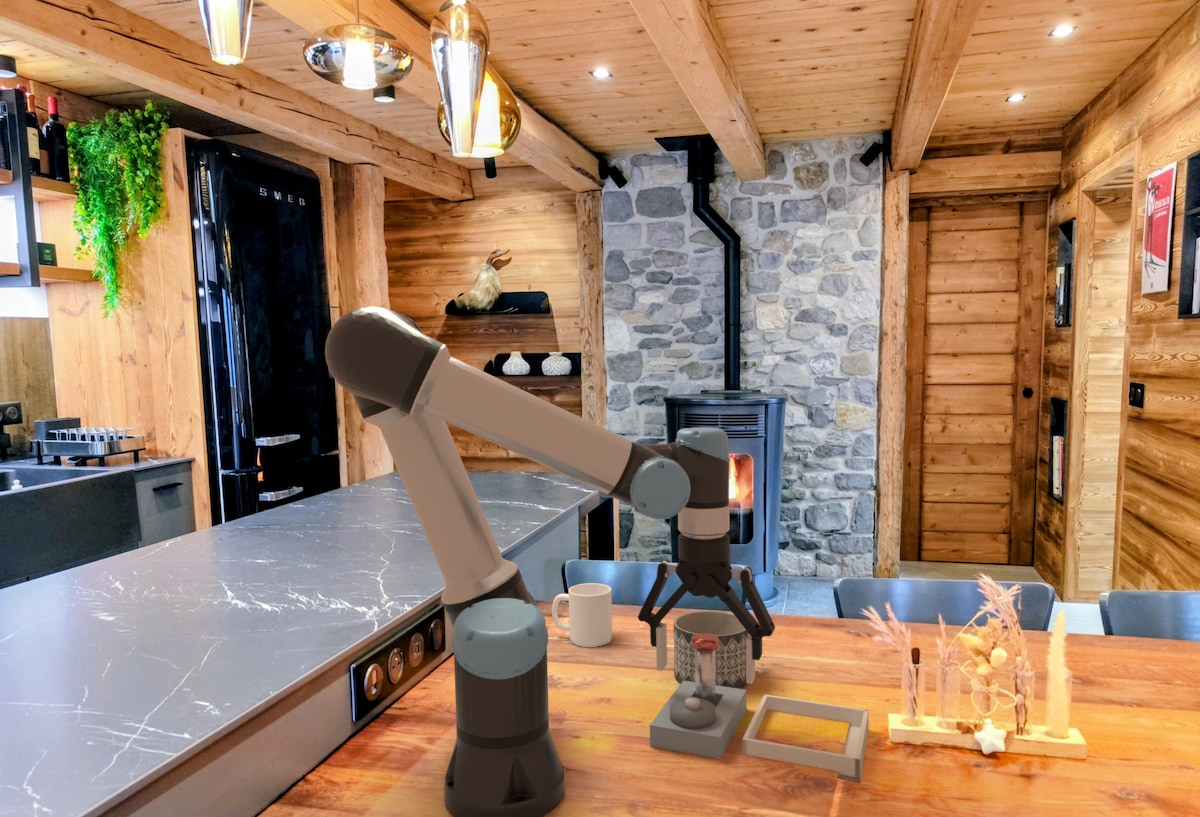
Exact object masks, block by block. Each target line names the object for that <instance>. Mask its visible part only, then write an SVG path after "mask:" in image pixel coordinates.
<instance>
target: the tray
mask: <svg viewBox="0 0 1200 817" xmlns="http://www.w3.org/2000/svg"><path fill="white" fill-rule="evenodd" d="M767 711H774V712H780V713H781V712H782V713H787V714H793V715H800V716H806V717H807V716H808V717H813V718H814V717H815V718H821V719H825V720H826V719H827V720H833V721H840V722H846V723H848V726H847V727H848V728H847V733H846V737H845V742H844V746H843V750H842V753H837V752H832V751H831V752H830V751H824V750H821V749H820V750H819V749H813V748H809V747H808V748H807V747H802V746H797V745H796V746H795V745H790V744H789V745H788V744H783V743H779V742H778V743H777V742H773V741H772V742H771V741H767V740H761V739H755V737H756V735H757V733H758V731H759V729H760V726H761V725H762V722H763V720H764V718H765V715H766V713H767ZM869 712H870V710H869V709H865V708H861V707H860V708H859V707H852V706H847V705H840V704H834V703H833V704H831V703H825V702H821V701H820V702H818V701H811V700H807V699H805V700H804V699H801V698H800V699H798V698H793V697H785V696H779V695H772V694H771V695H770V694H767V693H766V694H763V696H762V698H761V700H760V702H759V704H758V706H757V709H756V710H755V713H754V714H753V715H752V719H751V720H750V723H749V725H748V727H747V729H746V731H745V733H744V735H743V736H742V740H741V742H742V743H741V744H742V745H741V746H742V747H741V748H742V750H741V751H742V752H741V753H742V755H746V756H752V757H756V758H761V759H762V758H763V759H768V760H772V761H773V760H774V761H779V762H783V763H784V762H785V763H789V764H795V765H801V766H802V765H803V766H808V767H812V768H813V767H814V768H819V769H823V770H830V771H834V772H838V773H837V776H836V777H837V779H839V780H845V781H851V782H857V783H861V779H862V778H861V776H862V771H863V765H864V759H865V753H866V746H867V742H868V734H869V728H870V727H869V718H870V717H869V714H870V713H869Z"/></svg>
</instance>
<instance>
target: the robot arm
mask: <svg viewBox="0 0 1200 817" xmlns="http://www.w3.org/2000/svg"><path fill="white" fill-rule="evenodd" d="M324 349H325V350H324V356H325V362H326V364H327V367H328V370H329V372H330V374H331V376H332V378H334V380H335V381H336V382H337V384H338V385H340V386H341V387H342V388H343V389H344V390H346V391H347V392H349V393H351V394H352V396H353V398H354V401H355V404H356V405H357V407H358V410H359V412H360V415H361V416H362V419H363V421H364V422H366V423H369V424H371V425H373V426H375V427H377V428H378V429H380V432H381V434H382V437H383V439H384V441H385V444H386V446H387V449H388V451H389V453H390V455H391V458H392V461H393V462H394V465H395V467H396V470H397V471H398V474H399V477H400V479H401V482H402V484H403V485H404V488H405V490H406V493H407V495H408V497H409V499H410V503H411V504H412V507H413V509H414V512H415V514H416V516H417V519H418V521H419V523H420V525H421V526H420V527H422V530H423V533H424V534H425V535H424V536H425V537H426V540H427V542H428V544H429V546H430V548H431V552H432V553H433V556H434V558H435V560H436V563H437V566H438V568H439V570H440V572H441V574H442V577H443V579H444V582H445V587H444V589H443V592H442V595H441V597H440V600H441V603H442V605H443V608H444V610H445V612H446V615H447V616H448V620H449V622H450V624H451V627H452V628H453V632H452V637H451V647H452V648H451V649H452V652H453V664H454V691H455V694H454V695H455V698H454V699H455V719H456V720H455V723H456V727H455V728H456V739H455V742H454V746H453V750H452V753H451V756H450V759H449V763H448V766H447V769H446V773H445V776H444V781H443V782H444V783H443V792H444V793H443V795H444V804H445V807H446V808H447V810H448V811H449V812H450V814H452V816H454V817H542V816H545V815H546V814H548V813H549V812H551V811H552V810H553V809H555V807H556V806H558V804H559V803H560V802H561V800H562V798H563V797H564V794H565V793H564V792H565V773H564V768H563V764H562V763H561V760H560V757H559V753H558V751H557V748H556V745H555V742H554V739H553V737H552V734H551V731H550V719H549V718H550V716H549V687H548V686H549V680H548V678H549V677H548V676H549V675H548V645H549V631H548V627H547V622H546V618H545V616H544V614H543V612H542V611H541V609H539V607H538V603H537V602H536V600H535V598H534V597H533V595H532V594H531V592H530V591H529V590H528V588H527V585H526V583H525V581H524V578H523V576H522V573H521V572H520V569H519V566H518V565H517V563H516V562H512V561H510V560H508V559H506V558H503V556H502V553H501V551H500V549H499V547H498V544H497V541H496V540H495V537H494V534H493V532H492V530H491V528H490V525H489V522H488V520H487V517H486V515H485V512H484V511H483V509H482V506H481V504H480V501H479V499H478V496H477V494H476V491H475V489H474V486H473V484H472V481H471V479H470V477H469V475H468V472H467V470H466V467H465V465H464V463H463V460H462V458H461V456H460V453H459V451H458V448H457V445H456V443H455V442H454V439H453V436H452V434H451V432H450V430H449V427H448V424H450V425H452V426H455V427H457V428H460V429H462V431H466V432H468V433H471V434H473V435H475V436H477V437H479V438H481V439H484V440H486V441H487V442H491V443H493V444H495V445H497V446H499V447H501V448H504V449H505V450H508V451H509V452H510V451H511V452H513V453H515V454H517V455H519V456H522V457H523V458H526V459H528V460H530V461H532V462H535V463H537V464H539V465H542V466H543V467H545V468H548V469H549V470H551V471H555V472H556V473H560V475H564V476H565V477H568V478H570V479H573V480H575V481H576V482H579V483H581V484H583V485H586V486H588V487H590V488H593V489H595V490H597V492H598V493H599V495H600V497H602V498H610V499H611V498H614V499H616V500H617V501H620V502H622V503H625V504H626V505H629V506H631V507H633V508H635V510H637V511H638V512H639V513H640V514H642V515H644V516H647V517H649V518H650V519H651V518H652V519H656V520H666V519H670V518H672V517H674V516H676V515H677V530H678V531H679V532H680V534H679V535H678V538H677V539H678V542H677V543H678V548H677V549H678V562H677V563H673V562H671V561H670V560H668V559H664V560H663V561H662V562H660V563H659V564H658V566H657V569H656V570H657V572H656V578H655V580H654V582H653V584H652V586H651V588H650V591H649V593H648V594H647V596H646V599H645V600H644V603H643V605H642V607H641V609H640V611H639V613H638V616H637V619H638V621H640V622H645V623H647V624H648V625H649V628H650V632H649V633H650V635H649V637H650V644H651V647H655V648H656V671H658V672H662V671H663V670H664V669H665V668H666V667H667V666H668V641H667V639H668V638H667V637H668V635H667V632H668V631H667V622H662V620H663V619H664V618H665V617H666V616H667V615H668V614H669V612H671V611H672V609H673V608H674V607H675V606H676V605H677V604H678V602H679V601H681V599H682V598H683V597H684V596H685V595H686V594H687V593H688V592H689V594H691V595H692V596H693V597H700V596H701V597H702V596H703V597H706V598H710V599H711V598H712V599H714V597H718V598H719V600H720V601H721V602H722V603H724V604H725V605H726V606H727V608H728V609H729V610H730V611H731V613H733V614H734V615H735V616H736V618H737V619H738V620H739V622H740V623H741V624H742V625H743V627H744V628H745V629H746V630H747V632H748V633H749V635H748V637H747V638H746V683H748V684H747V685H752V684H753V682H754V681H755V679H756V661H760V659H761V658H762V655H763V638H764V637H771V636H772V635H773V632H775V629H776V625H775V623H774V621H773V619H772V617H771V614H770V613H769V611H768V609H767V607H766V605H765V602H764V601H763V598H762V596H761V594H760V592H759V590H758V589H757V587H756V583H754V575H753V569H752V568H751V567H750V566H745V567H744V568H732V566H731V548H730V546H731V545H730V544H731V540H730V538H731V537H730V535H729V534H728V533H727V532H729V531H730V529H731V528H730V526H731V525H730V498H729V497H730V495H729V494H730V461H731V459H730V452H729V438H728V434H727V433H726V431H725V430H723V429H721V428H717V427H703V426H702V427H689V428H688V427H686V428H681V429H679V430H678V431H677V433H676V438H675V442H670V443H651V444H650V443H648V444H640V443H639V444H638V443H635V442H633V441H631V440H630V439H627V438H626V437H623V436H622V435H619V434H617V433H615V432H613V431H610V430H609V429H606V428H604V427H603V426H601V425H598V424H596V423H594V422H592V421H589V420H587V419H586V418H583V417H580V416H579V415H577V414H574V413H573V412H570V411H568V410H567V409H564V408H561V407H560V406H558V405H556V404H553V403H552V402H549V401H547V400H545V399H542V398H540V397H538V396H536V395H534V394H532V393H531V392H527V390H526V391H525V390H524V389H521V388H519V387H517V386H515V385H513V384H510V383H509V382H507V381H504V380H502V379H500V378H498V377H496V376H493V375H491V374H489V373H488V372H485V371H483V370H482V369H479V368H476V367H474V366H473V365H470V364H468V363H465V362H464V361H462V360H459V359H457V358H455V357H453V356H451V353H450V351H449V349H448V347H447V345H446V344H444V343H443V342H440V341H438V340H437V339H434V338H433V337H431V336H429V335H427V334H425V333H424V331H423V330H422V329H421V328H420V327H419V325H418V324H416V322H414V321H413V319H411V318H410V317H407V315H404V314H403V313H400V312H398V311H393V310H392V309H389V308H387V307H383V306H373V305H372V306H361V307H358V308H355V309H353V310H350V311H348V312H346V313H345V314H343V315H342V316H341V317H339V319H338V320H336V322H334V324H333V325H332V327H331V329H330V330H329V333H328V334H327V337H326V341H325V348H324ZM447 423H448V424H447ZM674 573H675V574H676V575H677V577H678V578H679V580H680V581H681V583H682V584H680V586H679V587H678V588H677V589H676V590H674V592H673V594H672V595H671V596H669V598H668V599H667V601H666V602H665V603H664V604H663V605H662V606H661V607H660V608H659V609H658V611H657V612H655V613H653V610H654V608H655V606H656V604H657V602H658V600H659V598H660V596H661V593H662V592H663V589H664V588H665V586H666V583H667V582H668V579H669V578H671V577H672V576H673V575H674ZM732 578H733V579H735V581H736V582H737V584H738V585H741V590H742V591H743V593H744V595H745V597H746V599H747V602H748V604H749V606H750V608H751V609H752V612H753V614H754V616H755V617H754V616H753V615H752V613H751V612H750V611H749V609H748V608H747V607H746V606H745V605H744V603H743V602H742V601H741V599H740V598H739V597H738V596H737V595H736V593H735V590H734V588H732V586H731V585H730V584H729V582H730V581H731V580H732ZM755 618H756V619H755Z"/></svg>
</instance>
